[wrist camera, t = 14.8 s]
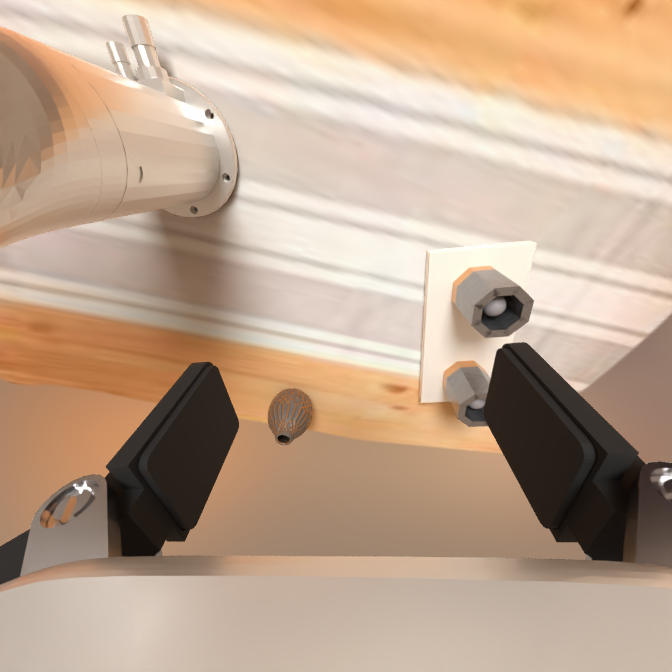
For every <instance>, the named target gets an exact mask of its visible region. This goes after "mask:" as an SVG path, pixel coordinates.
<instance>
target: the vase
mask: <svg viewBox="0 0 672 672" xmlns="http://www.w3.org/2000/svg"><path fill="white" fill-rule="evenodd" d="M311 417H312V406H311V402H310V400H309V398H308V397H307V395H306V394H305V393H303V392H302V391H300V390H297V389H287V390H284V391H282V392H280V393H279V394H278V395H277V396H276V397H275V398H274V399H273V401H272V402H271V405H270V407H269V410H268V423H269V427H270V429H271V430H272V432H273V434H274V435H275V439H276V441H277V442H278V443H279V444H281V445H288V444H290V443H291V442H292V441H293V440H294V439H295V438H297V437H299V436H300V435H301V434H303V433H304V432H305V430H306V429H307V427H308V426H309V424H310V421H311Z"/></svg>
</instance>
